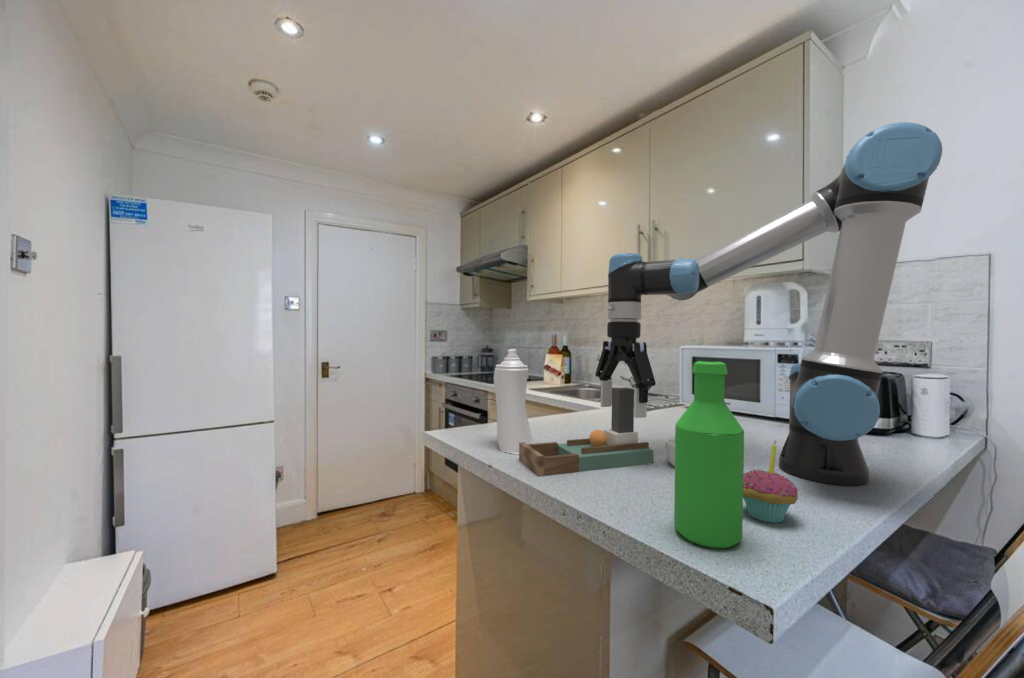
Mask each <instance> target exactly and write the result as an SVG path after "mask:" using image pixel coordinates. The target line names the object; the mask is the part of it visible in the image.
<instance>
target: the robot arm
mask: <svg viewBox="0 0 1024 678" xmlns="http://www.w3.org/2000/svg"><path fill="white" fill-rule="evenodd" d="M942 155H943V144H942V141H941V139H940V137H939V135H938V134H937V133H936V132H935V131H933V130H932V129H931V128H929V127H928V126H925V125H923V124H920V123H916V122H909V121H907V122H906V121H905V122H903V121H902V122H901V121H900V122H895V123H894V122H893V123H889V124H884V125H882V126H879V127H877V128H875V129H873V130H871V131H870V132H868V133H866V134H865V135H864V136H862V137H861V138H860V139H859V140H858V141H857V142H856V143H855V144H854V145H853V146H852V148H851V149H850V150H849V152H848V154H847V155H846V158H845V163H844V164H843V167H842V169H841V172H840V174H839V175H838V176H837V177H836V178H835V179H834V180H833V181H832V182H830V183H829V184H827V185H825V186H824V187H822V188H820V189H818V190H816V191H814V192H813V193H812V195H811V197H810V199H809V200H807V201H806V202H803V203H802V204H800V205H797V206H796V207H793V208H792V209H790V210H788V211H786V212H784V213H782V214H780V215H778V216H776V217H774V218H772V219H770V220H768V221H766V222H764V223H763V224H760V225H759V226H757V227H754V228H753V229H751V230H749V231H746V232H745V233H743V234H740V235H739V236H738V237H735V238H733V239H731V240H729V241H728V242H725V243H724V244H721V245H720V246H717V247H715V248H713V249H712V250H710V251H708V252H706V253H704V254H702V255H700V256H698V257H696V258H676V259H669V260H657V261H643V257H642V255H641V254H639V253H636V252H635V253H634V252H629V253H627V252H624V253H623V252H621V253H617V254H614V255H612V256H611V257H610V259H609V261H608V263H609V264H608V274H607V277H608V280H607V281H608V283H607V284H608V285H607V286H608V287H607V291H608V292H607V293H608V294H607V303H608V304H607V319H608V322H607V325H606V329H607V330H606V332H607V333H606V334H607V335H606V336H607V337H608V338H610V339H611V340H603V342H602V351H601V353H600V357H599V361H598V364H597V366H596V367H597V368H596V370H595V377H596V378H597V377H598V378H599V380H600V408H609V407H611V408H612V388H613V377H612V375H613V374H614V372H615V370H616V368H617V367H618V365H619V363H620V362H624V364H627V367H628V369H629V371H630V373H631V376H632V377H633V379H634V382H635V384H636V385H635V386H634V419H640V418H647V412H648V411H647V407H648V406H647V405H648V404H647V403H648V401H649V389H650V388H651V387H654V386H656V384H657V383H656V379H655V376H654V372H653V370H652V365H651V363H650V359H649V356H648V349H647V343H646V342H645V341H643V342H640V341H637V339H640V337H641V332H642V329H641V326H642V325H641V322H639V321H641V319H642V296H654V295H655V296H657V295H659V296H660V295H661V296H663V295H664V296H665V295H666V296H668V297H670V298H672V299H673V300H677V301H685V300H689V299H690V300H691V299H692V298H694V297H695V295H696V294H698V293H699V292H701V291H703V290H706V289H707V288H709V287H711V286H714V285H716V284H717V283H720V282H722V281H724V280H727V279H728V278H730V277H732V276H734V275H737V274H739V273H741V272H743V271H745V270H747V269H750V268H752V267H754V266H756V265H759V264H760V263H763V262H765V261H766V260H767V261H768V259H771V258H773V257H776V256H778V255H779V254H782V253H784V252H786V251H789V250H791V249H793V248H794V247H797V246H799V245H801V244H804V243H806V242H808V241H809V240H812V239H814V238H816V237H818V236H821V235H822V234H825V233H827V232H830V233H834V234H835V233H838V234H839V235H838V239H837V245H836V249H835V252H834V258H833V262H832V267H831V271H830V276H829V279H828V285H827V290H826V294H825V297H824V298H825V299H824V303H823V308H822V312H821V317H820V321H819V326H818V330H817V333H816V338H815V344H814V349H813V350H812V351H811V352H809V353H807V354H805V355H804V356H802V357H801V362H800V363H795V364H793V365H792V366H791V367H790V373H789V375H788V378H789V379H788V380H789V415H788V416H789V417H788V418H789V419H788V420H789V421H788V423H789V425H788V427H789V428H788V429H789V431H788V435H787V437H786V440H785V442H784V444H783V447H782V450H781V451H780V454H779V457H778V461H779V462H778V467H779V468H780V469H781V470H782V471H784V472H785V473H788V474H790V475H793V476H795V477H798V478H802V479H805V480H811V481H814V482H818V483H819V482H820V483H825V484H832V485H840V486H842V485H843V486H860V485H861V486H862V485H866V484H868V483H869V481H870V470H869V467H868V465H867V461H866V459H865V457H864V454H863V450H862V449H861V446H860V444H859V438H861V437H863V436H865V435H866V434H868V433H870V432H871V430H872V429H874V427H875V426H876V425H877V423H878V421H879V417H880V415H881V414H880V412H881V408H880V407H881V405H880V402H879V401H880V400H879V398H878V393H879V389H880V385H881V380H882V377H883V369H882V368H881V367H880V366H879V365H878V364H877V363H876V361H875V356H876V351H877V347H878V343H879V339H880V334H881V329H882V325H883V321H884V317H885V314H886V308H887V304H888V300H889V297H890V292H891V286H892V283H893V280H894V279H893V278H894V274H895V270H896V266H897V263H898V258H899V257H898V256H899V254H900V249H901V245H902V240H903V236H904V232H905V228H906V223H907V222H908V221H910V220H911V219H912V218H913V217H916V216H917V215H919V214H920V213H922V209H923V203H924V201H925V200H924V199H925V197H926V191H927V188H928V184H929V183H928V182H929V180H930V177H931V176H932V175H933V173H934V172H935V171H936V170H937V169H938V166H939V165H940V162H941V159H942Z"/></svg>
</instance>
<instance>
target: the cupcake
mask: <svg viewBox="0 0 1024 678" xmlns="http://www.w3.org/2000/svg"><path fill="white" fill-rule="evenodd" d="M773 442H774V443H773V444H771V450H770V458H769V459H770V460H769V467H768V469H769V470H768V471H766V470H765V471H764V470H761V469H753V470H750V471H748V472H745V473H744V472H743V502H744V503H745V506H746V509H747V512H748V515H749V516H750V517H752V518H753V519H755V520H758V521H761V522H764V523H770V524H771V523H773V524H777V523H782V522H783V521H784V520H785V516H786V513H787V512H788V509H789V508H790V506H791V505H795V504H796V503H797V501H798V499H799V497H798V496H799V495H798V491H799V488H798V487H797V486H796V485H795V484H794V482H793V481H791V480H790V479H789V478H787V477H785V476H784V475H781V474H779V473H778V472H775V462H776V456H777V455H776V453H777V445H776V444H777V440H774V441H773Z"/></svg>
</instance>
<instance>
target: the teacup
mask: <svg viewBox="0 0 1024 678" xmlns="http://www.w3.org/2000/svg"><path fill="white" fill-rule="evenodd" d="M665 448H666V449H665V450H666V451H665V452H666V456H667V457H666V458H667V460H668V462H669V464H670V465H672V466H673V467H674V468H675V437H671V438H666V439H665Z"/></svg>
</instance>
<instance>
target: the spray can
mask: <svg viewBox="0 0 1024 678" xmlns="http://www.w3.org/2000/svg"><path fill="white" fill-rule="evenodd" d="M528 366H529V365H526V364H524V362H523V361H521V358H520V357H519V355H518V354H517V349H516V348H510V349H507V354H506V357H504V358H503V361H501V363H500V364H495V368H494V372H493V386H494V387H493V388H494V394H495V401H496V402H495V404H496V437H497V444H498V449H500V450H501V451H500V450H499V451H500V452H502V451H503V453H504V452H507V453H506V454H508V453H513V454H512V455H519V443H523V442H524V443H526V444H534V443H533V437H532V434H531V427H530V422H529V418H528V414H527V408H526V401H527V400H526V398H527V383H528V374H529V368H528Z"/></svg>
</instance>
